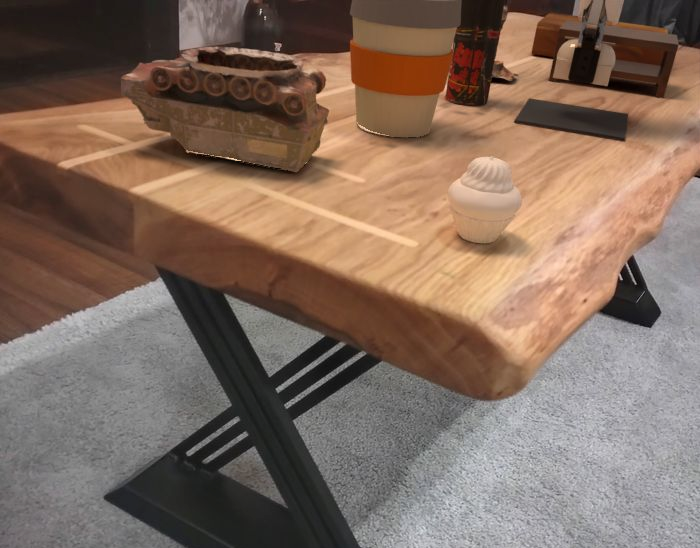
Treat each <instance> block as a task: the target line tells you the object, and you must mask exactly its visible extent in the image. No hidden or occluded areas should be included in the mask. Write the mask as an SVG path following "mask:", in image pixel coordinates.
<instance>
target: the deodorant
mask: <svg viewBox="0 0 700 548" xmlns="http://www.w3.org/2000/svg"><path fill="white" fill-rule="evenodd" d="M504 3H505V0H462V1H461V22H460V26H459V27H457V29H456V33H455V37H454V41H453V44H452V48H451V49H452V50H453V51H454V55H453V58H452V62H451V66H450V70H449V74H448V77H447V82H446V89H445V90H446V91H445V100H446V101H447V102H449V103H453V104H455V105H461V106H468V107H481V106H486V105H487V104H488V101H489V96H490V90H491V83H492V78H493V77H492V73H493V67H494V61H496V58H495V55H496V56H497V53H496V50H497V51H498V46H497V44H498V45H499V43H498V38H499V39H500V36H499V32H500V26H501V21H502V15H503V9H504ZM500 33H501V32H500Z"/></svg>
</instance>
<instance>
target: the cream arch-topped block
mask: <svg viewBox="0 0 700 548" xmlns="http://www.w3.org/2000/svg"><path fill="white" fill-rule="evenodd" d="M565 39H571V40H568V41H567V42H565V43H564V44H563V45H562V46H561V47H560V49H559V51H558V54H557V60H556V65H555V70H554V74H553V78H557V80H564V81H570V80H569V79H568V76H569V72H570V67H571V63H572V58H573V54H574V50H575V47H577V44H578V39H579V38H573V37H566V36H565ZM596 42H597V41H596ZM610 45H614V46H615V45H616V43H608V42H601V44H600V48H599V50H600V51H601V52H600V57H599V61H598V65H597V69H596V73H595V77H594V81H593V83H591V84H590V85H595V86H597V85H598V86H604V87H608V85H609V82H610V79H611V77H610V74H611V70H612V69H613V67H614V64H615V60H616V57H615V52H614V50H613V48H612V47H611V46H610Z"/></svg>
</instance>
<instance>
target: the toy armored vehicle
mask: <svg viewBox="0 0 700 548" xmlns="http://www.w3.org/2000/svg"><path fill="white" fill-rule="evenodd" d="M304 65H305V63H304V62H303V61H302V60H301V59H299V58H298V57H296V56H293V55H290V54H286V53H282V52H281V53H280V52H271V51H268V50H261V49H252V48H251V49H250V48H238V47H233V46H232V47H231V46H230V47H229V46H217V45H215V46H204V47H203V46H202V47H196V48H189V49H186V50H183V51H182V53H181V54H180V57H177V58H175V59H173V60H172V59H170V60H167V59H155V60H152V61H151V62H146V63H143V62H139V63H138V64H137V66H136V67H135V68H134V69H133V70H132V71H131V72H130V73H127V74H126V73H125V74H124V75H122V76H121V77H120V94H121V96H123V97H124V98H127V99H128V100H130V101H131V103H132V105H134V106H135V107H136V108H137V110H138V111H139V113H140V114H141V116H142V120H143V121H144V125H146V127H147V128H148V129H150V130H153V131H158V132H159V131H160V132H165V133H169V134H170V136H171V137H172V138H173V139H175V140H176V141H177V142H178V143H179V144H181V146H182V147H183V149H185V150H188V151H193V152H198V153H204V154H207V155H208V154H209V155H214V156H222V157H229V158H234V159H237V160H241V161H244V162H250V163H255V164H261V165H266V166H270V167H275V168H281V169H280V170H283V171H287V170H288V172H293V173H297V172H299V171H300V170H302V168H303V167H304V164H305V163H306V162H307V161H308V162H309V160H310V159H311V157H312V156H313V155H314V154H315V152H317V151H318V149H319V148H320V146H321V139H322V134H323V133H324V128H325V126H326V125H327V124H328V121H329V120H328V116H329V113H330V109H328V108H327V107H325V106H323V105H321V104H319V103H318V102H317V95H320V93H321V92H322V91H323V90H324V89H325V87H326V82H327V78H326V75H325V73H324V72H323V71H322V70H321V69H318V68H308V69H303V67H304ZM185 150H184V151H185ZM244 162H243V163H244ZM308 162H307V163H308ZM270 167H269V168H270ZM275 168H274V169H275Z"/></svg>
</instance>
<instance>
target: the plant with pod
mask: <svg viewBox="0 0 700 548" xmlns="http://www.w3.org/2000/svg"><path fill="white" fill-rule="evenodd" d="M507 4H508V0H505V3H504V9H503V15H502V21H501V26H500V32H499V38H498V44H497V47H499V42H500V36H501V31H502V30H503V28H504V24H505V22H506V21H507V18H508V14H509V7H508V5H507ZM497 53H498V49H497V50H496V55H495V59H496V57H497ZM519 76H520V75H519V74H516V73H513V72H511V71H510V70H509V69H508V68H507V67H506V66H505V65H504V61H500V60H495V61H494V67H493V73H492V78H497V79H499V78H501V79H504V80H506V81H509V82H512V81H513V80H514V79H515V77H519Z"/></svg>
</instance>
